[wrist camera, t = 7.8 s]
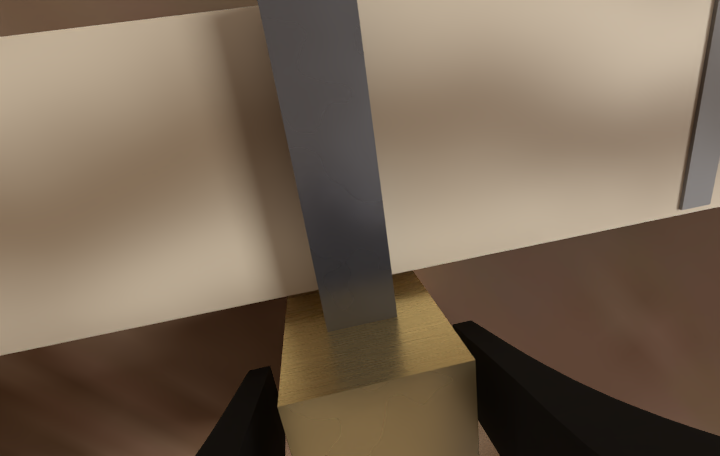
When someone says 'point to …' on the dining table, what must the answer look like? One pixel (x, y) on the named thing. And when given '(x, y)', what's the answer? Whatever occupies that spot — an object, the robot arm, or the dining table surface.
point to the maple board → (392, 139)
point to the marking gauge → (355, 268)
